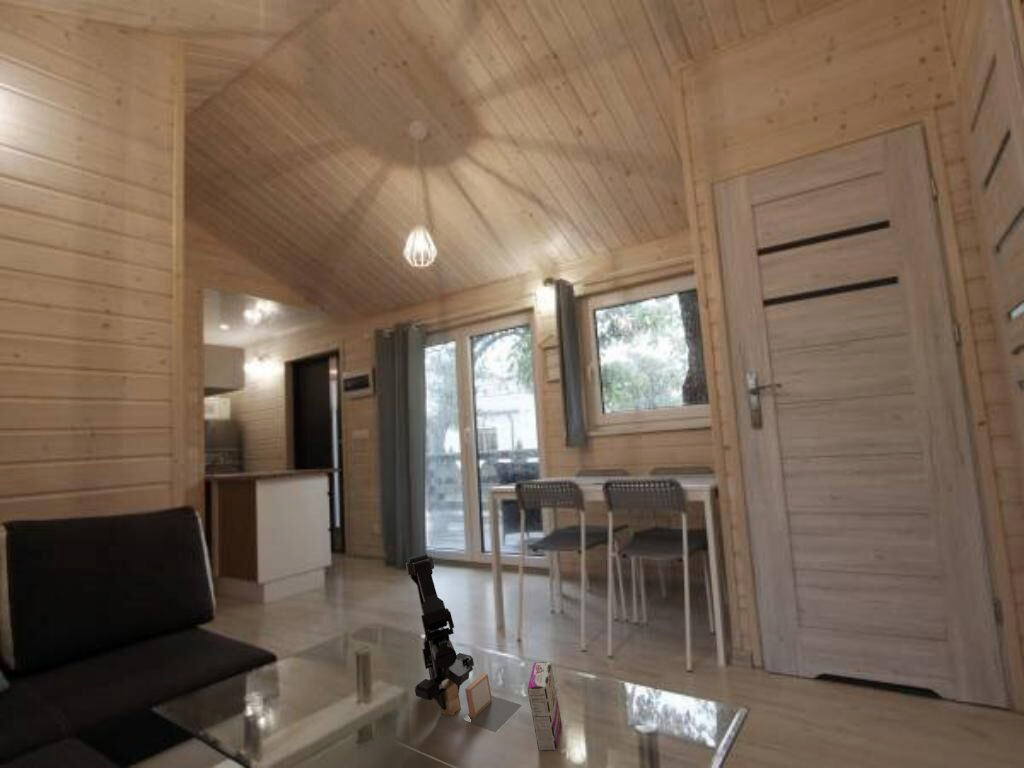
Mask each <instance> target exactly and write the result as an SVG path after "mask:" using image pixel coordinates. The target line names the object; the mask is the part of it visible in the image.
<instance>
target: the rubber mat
mask: <svg viewBox="0 0 1024 768" xmlns="http://www.w3.org/2000/svg"><path fill="white" fill-rule="evenodd" d="M491 697H492V702H491V703H490V704H489V705H488V706H486V707H485V708H484V709H483V710H482V711H481V712H480V713H479V714H478V715H477V716H476V717H475V718H473V717H470V715H469V713H468V714H467V715H468V716H469V717H470V719H471V723H470V724H473V725H475V726H478V727H481V728H482V729H487V730H489V731H491V732H495V733H496V732H497V731H498V730H499V729H500V728H501V727H502V726H503V725H504V724H505V723H506V722H507V721H508V720H509V719H510V718H511V717H512V716H513V714H515V713H516V712H517V710H519V709H520V708H521V707H522V704H520V703H516V702H514V701H510V700H507V699H503V698H501V697H498V696H493V695H491Z"/></svg>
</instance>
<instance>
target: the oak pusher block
mask: <svg viewBox="0 0 1024 768" xmlns="http://www.w3.org/2000/svg"><path fill="white" fill-rule="evenodd" d="M442 688H444V689H446V691H445V692H444V699H445V707H446V709H445V710H443V709H442V708H441V707H440V706H439V707H440V712H441V714H444V715H447V716H450V715H452V714H453V713H454V714H456V713H457V712H458V711H459V710H460V709H461V708H462V706H461V700H460V695H459V694H460V692H459V693H458V687H457V685H456V684H455V683H454V682H453V681H451V680H449V679H446V680H445V681H444V682H442ZM455 712H456V713H455ZM454 714H453V715H454ZM453 715H452V716H453Z"/></svg>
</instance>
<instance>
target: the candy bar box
mask: <svg viewBox="0 0 1024 768" xmlns="http://www.w3.org/2000/svg"><path fill="white" fill-rule="evenodd" d="M554 677H555V676H554V673H553V666H552V662H551V661H545V662H544V661H541V662H534V663H533V665H532V670H531V673H530V678H529V682H528V684H527V687H526V688H527V692H528V699H529V705H530V711H531V715H532V722H533V727H534V731H535V732H534V733H535V738H536V743H537V748H538V751H542V752H543V751H544V752H546V751H557V750H558V745H559V744H558V743H559V738H560V731H561V725H562V724H561V723H562V718H561V712H560V707H559V706H560V705H559V700H558V695H557V689H556V684H555V678H554Z"/></svg>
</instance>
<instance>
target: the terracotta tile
mask: <svg viewBox="0 0 1024 768" xmlns="http://www.w3.org/2000/svg"><path fill="white" fill-rule="evenodd" d="M489 679H490V678H489V674H488V673H485V672H482V674H481V675H479V676H478V677H477V678H476V679H474V680H473V681H472V682H471V683H470V684H469V685H467V686H466V687H465V688H464V690H465V697H466V702H467V707H468V714H469V715H470V717H473V718H475V717H476V716H477V715H478V714H479V713H480V712H481V711H482V710H483V709H484V708H485V707H486V706H488V705H489V704H490V703H491V702H492V697H491V696H492V693H491V687H490V686H491V685H490V680H489Z"/></svg>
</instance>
